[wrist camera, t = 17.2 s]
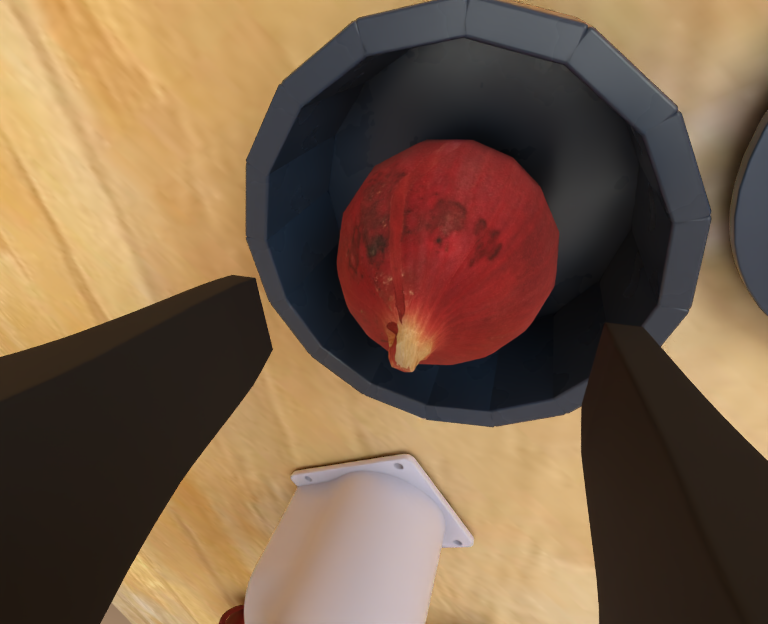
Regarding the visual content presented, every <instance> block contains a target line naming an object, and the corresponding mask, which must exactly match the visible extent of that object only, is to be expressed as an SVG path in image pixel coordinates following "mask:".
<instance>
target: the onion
mask: <svg viewBox="0 0 768 624" xmlns="http://www.w3.org/2000/svg"><path fill="white" fill-rule="evenodd" d="M558 245H559V230H558V228H557V226H556V223H555V221H554V218H553V216H552V214H551V211H550V209H549V206H548V204H547V202H546V199H545V197H544V194H543V192H542V189H541V187H540V186H539V184H538V183H537V182H536V181H535V180H534V179H533V178H532V177H531V176H530V175H529V174H528V173H527V172H526V171H525V169H524V168H523V167H522V166H521V165H520V164H519V163H518V162H517V161H516V160H515V159H514V158H513V157H511V156H509V155H506V154H504V153H502V152H499V151H497V150H495V149H493V148H490V147H488V146H486V145H484V144H481V143H479V142H477V141H474V140H439V139H427V140H425V141H422V142H420V143H417V144H415V145H413V146H411V147H409V148H408V149H406V150H404V151H402V152H400V153H398V154H396V155H394V156H392V157H391V158H389V159H387V160H385V161H383V162H381V163H379V164H377V165H375V166H374V168H373V169H372V171H371V172H370V173H369V175H368V176H367V178H366V179H365V181H364V182H363V184H362V185H361V187H360V188H359V190H358V191H357V193H356V194H355V196H354V197H353V199H352V200H351V202H350V203H349V205H348V206H347V208H346V210H345V211H344V213H343V217H342V224H341V231H340V239H339V247H338V255H337V271H338V276H339V280H340V284H341V287H342V291H343V294H344V298H345V302H346V305H347V307H348V309H349V311H350V313H351V314H352V315H353V317H354V318H355V319H356V321H357V322H358V323H359V325H360V326H361V327H362V329H363V330H364V331H365V333H366V334H367V335H368V336H369V337H370V338H371V339H372V340H374V341H375V342H376V343H378V344H379V345H380V346H382V347H383V348H384V349H386V350H387V351H388V358H389V361H390V364H391V367H393V368H396V369H398V370H400V371H402V372H413V371H414V370H415V368H416V366H417V365H418V364H432V365H454V364H458V363H463V362H467V361H472V360H476V359H480V358H484V357H486V356H488V355H490V354H492V353H494V352H496V351H497V350H498V349H500V348H501V347H503V346H504V345H506V344H507V343H509V342H510V341H511V340H513V339H514V338H516V337H517V336H519V335H520V334H522V333H523V332H524V331H525V330H526V329H527V328H528V327H529V326H530V324H531V323H532V322H533V320H534V319H535V317H536V316H537V314H538V312H539V311H540V309H541V307H542V306H543V304H544V303H545V301H546V299H547V298H548V296H549V294H550V293H551V291H552V289H553V288H554V285H555V279H556V273H557V259H558Z"/></svg>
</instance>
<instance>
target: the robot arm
mask: <svg viewBox="0 0 768 624" xmlns="http://www.w3.org/2000/svg"><path fill="white" fill-rule="evenodd" d="M272 350H273V348H272V344H271V340H270V336H269V332H268V328H267V324H266V319H265V315H264V311H263V307H262V303H261V299H260V295H259V291H258V287H257V282H256V278H252V277H244V276H236V275H231V276H227V277H224V278H220V279H217V280H214V281H211V282H208V283H206V284H203V285H200V286H198V287H195V288H192V289H190V290H187V291H185V292H182V293H180V294H177V295H175V296H172V297H170V298H167V299H165V300H162V301H160V302H157V303H155V304H152V305H150V306H147V307H145V308H142V309H140V310H137V311H135V312H132V313H130V314H127V315H125V316H122V317H119V318H116V319H114V320H111V321H108V322H106V323H103V324H100V325H98V326H95V327H92V328H90V329H87V330H84V331H82V332H79V333H76V334H73V335H70V336H68V337H65V338H62V339H59V340H56V341H53V342H49V343H46V344H43V345H40V346H37V347H33V348H30V349H27V350H23V351H20V352H17V353H14V354H10V355H6V356H3V357H0V624H100V623H101V621H102V619H103V617H104V615H105V613H106V612H107V610H108V608H109V606H110V604H111V602H112V600H113V598H114V596H115V594H116V593H117V591H118V589H119V587H120V585H121V583H122V581H123V579H124V577H125V575H126V574H127V572H128V570H129V568H130V566H131V564H132V563H133V561H134V559H135V558H136V556H137V554H138V552H139V551H140V549H141V547H142V545H143V544H144V542H145V540H146V538H147V537H148V535H149V533H150V531H151V530H152V528H153V526H154V524H155V523H156V521H157V520H158V518H159V516H160V515H161V513H162V511H163V510H164V508H165V507H166V505H167V503H168V502H169V500H170V498H171V497H172V495H173V494H174V492H175V490H176V489H177V487H178V486H179V484H180V482H181V481H182V480H183V478H184V477H185V475H186V474H187V472H188V471H189V470H190V468H191V467H192V465H193V464H194V463H195V461H196V460H197V459H198V457H199V456H200V455H201V454H202V452H203V451H204V450H205V448H206V447H207V446H208V444H209V443H210V442H211V440H212V439H213V438H214V437H215V435H216V434H217V433H218V431H219V430H220V429H221V427H222V426H223V425H224V424H225V422H226V421H227V420H228V418H229V417H230V416H231V414H232V413H233V412H234V410H235V409H236V408H237V406H238V405H239V404H240V402H241V401H242V400H243V398H244V397H245V396H246V394H247V393H248V392H249V390H250V389H251V387H252V386H253V385H254V383H255V381H256V379H257V378H258V376H259V374H260V373H261V371H262V369H263V367H264V365H265V363H266V361H267V360H268V358H269V356H270V354H271V352H272ZM581 455H582V464H583V473H584V481H585V489H586V497H587V505H588V513H589V521H590V529H591V537H592V545H593V553H594V561H595V569H596V578H597V590H598V602H599V624H768V460H766V459H765V458H764V457H763V456H762V455H761V454H760V453H759V452H758V451H757V450H756V449H755V448H754V447H753V446H752V445H751V444H750V443H749V442H748V441H747V440H746V439H745V438H744V437H743V436H742V435H741V434H740V433H739V432H738V431H737V430H736V429H735V428H734V427H733V426H732V425H731V424H730V423H729V422H728V421H727V420H726V419H725V418H724V417H723V416H722V415H721V414H720V413H719V412H718V410H717V409H716V408H715V407H714V406H713V405H712V404H711V403H710V402H709V401H708V400H707V399H706V398H705V397H704V395H703V394H702V393H701V392H700V391H699V390H698V389H697V388H696V387H695V386H694V384H693V383H692V382H691V381H690V380H689V379H688V378H687V377H686V375H685V374H684V373H683V372H682V371H681V370H680V369H679V367H678V366H677V365H676V364H675V363H674V362H673V361H672V359H671V358H670V357H669V356H668V355H667V354H666V353H665V351H664V350H663V349H662V348H661V347H660V346H659V344H658V343H657V342H656V341H655V340H654V339H653V337H652V336H651V335H650V334H649V333H648V332H647V331H646V330H645V329H644V328H643V327H639V326H631V325H623V324H615V323H607V322H605V324H604V327H603V331H602V334H601V338H600V341H599V345H598V348H597V352H596V355H595V359H594V362H593V366H592V369H591V373H590V376H589V380H588V383H587V387H586V390H585V394H584V397H583V401H582V412H581ZM291 480H292V481H293V482H294V483H295V484H296V486H297V489H296V491H295V493H294V495H293V497H292V498H291V500H290V502H289V504H288V506H287V508H286V510H285V512H284V513H283V515H282V517H281V519H280V521H279V523H278V525H277V526H276V528H275V530H274V532H273V534H272V536H271V538H270V540H269V541H268V543H267V545H266V547H265V549H264V551H263V553H262V554H261V556H260V558H259V560H258V562H257V564H256V566H255V568H254V570H253V572H252V574H251V577H250V580H249V583H248V586H247V590H246V595H245V603H244V622H245V624H425V623H426V618H427V614H428V609H429V604H430V599H431V595H432V590H433V585H434V580H435V576H436V571H437V566H438V561H439V557H440V552H441V548H447V547H471V546H473V543H474V537H473V536H472V534H471V533H470V532H469V530H468V529H467V528H466V526H465V525H464V524H463V522H462V521H461V520H460V518H459V517H458V516H457V514H456V513H455V512H454V510H453V509H452V508H451V506H450V505H449V504H448V502H447V501H446V499H445V498H444V497H443V495H442V494H441V493H440V491H439V490H438V489H437V487H436V486H435V485H434V483H433V482H432V481H431V479H430V478H429V477H428V475H427V474H426V473H425V471H424V470H423V469H422V467H421V466H420V464H419V463H418V462H417V460H416V459H415V458H414V457H413V456H411V455H409V454H400V455H393V456H387V457H380V458H374V459H368V460H361V461H355V462H348V463H342V464H336V465H329V466H323V467H316V468H310V469H304V470H297V471H294V472H293V473H292V475H291Z"/></svg>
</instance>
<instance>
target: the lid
mask: <svg viewBox="0 0 768 624" xmlns="http://www.w3.org/2000/svg"><path fill="white" fill-rule="evenodd" d="M729 227H730V243H731V248H732V253H733V258H734V262H735V265H736V267H737V270H738V272H739V275H740V277H741V280H742V282H743V284H744V285H745V287H746V288H747V290H748V291H749V293H750V294H751V296H752V297H753V299H754V300H755V302H756V303H757V305H758V306H759V308H760V309H761V310H762V311H763V312H764V313H765V314H766V315H767V316H768V110H767V111H766V113H765V114H764V116H763V118H762V119H761V121H760V122H759V124H758V126H757V128H756V130H755V133H754V135H753V137H752V139H751V141H750V143H749V145H748V147H747V149H746V151H745V154H744V156H743V159H742V162H741V165H740V168H739V171H738V174H737V177H736V180H735V184H734V188H733V194H732V200H731V206H730V212H729Z"/></svg>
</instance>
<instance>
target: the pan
mask: <svg viewBox="0 0 768 624" xmlns="http://www.w3.org/2000/svg"><path fill="white" fill-rule="evenodd" d="M427 139H439V140H474V141H477V142H479V143H481V144H484V145H486V146H488V147H490V148H493V149H495V150H497V151H499V152H502V153H504V154H506V155H509V156H511V157H513V158H514V159H515V160H516V161H517V162H518V163H519V164H520V165H521V166H522V167H523V168H524V169H525V171H526V172H527V173H528V174H529V175H530V176H531V177H532V178H533V179H534V180H535V181H536V182H537V183H538V184H539V186H540V187H541V189H542V192H543V194H544V197H545V199H546V202H547V204H548V206H549V209H550V211H551V214H552V216H553V218H554V221H555V223H556V226H557V228H558V230H559V245H558V259H557V273H556V279H555V285H554V288H553V289H552V291H551V293H550V294H549V296H548V298H547V299H546V301H545V303H544V304H543V306H542V307H541V309H540V311H539V312H538V314H537V316H536V317H535V319H534V320H533V322H532V323H531V324H530V326H529V327H528V328H527V329H526V330H525V331H524V332H523V333H522V334H520V335H519V336H517V337H516V338H514V339H513V340H511V341H510V342H509V343H507V344H506V345H504V346H503V347H501V348H500V349H498V350H497V351H496V352H494V353H492V354H490V355H488V356H486V357H484V358H480V359H476V360H472V361H467V362H463V363H458V364H454V365H432V364H418V365H417V366H416V368H415V370H414V371H413V372H402V371H400V370H398V369H396V368H393V367H391V364H390V361H389V358H388V351H387V350H386V349H384V348H383V347H382V346H380V345H379V344H378V343H376V342H375V341H374V340H372V339H371V338H370V337H369V336H368V335H367V334H366V333H365V331H364V330H363V329H362V327H361V326H360V325H359V323H358V322H357V321H356V319H355V318H354V317H353V315H352V314H351V313H350V311H349V309H348V307H347V305H346V302H345V298H344V294H343V291H342V287H341V284H340V280H339V276H338V271H337V255H338V247H339V239H340V231H341V224H342V217H343V213H344V211H345V210H346V208H347V206H348V205H349V203H350V202H351V200H352V199H353V197H354V196H355V194H356V193H357V191H358V190H359V188H360V187H361V185H362V184H363V182H364V181H365V179H366V178H367V176H368V175H369V173H370V172H371V171H372V169H373V168H374V166H375V165H377V164H379V163H381V162H383V161H385V160H387V159H389V158H391V157H392V156H394V155H396V154H398V153H400V152H402V151H404V150H406V149H408V148H409V147H411V146H413V145H415V144H417V143H420V142H422V141H425V140H427ZM246 162H247V163H246V236H247V237H246V240H247V243H248V246H249V248H250V251H251V254H252V257H253V259H254V262H255V265H256V267H257V270H258V273H259V276H260V278H261V281H262V284H263V287H264V289H265V292H266V295H267V297H268V300H269V302H271V305H272V306H273V308H274V309H275V310H276V312H277V313H278V314H279V315H280V317H281V318H282V319H283V321H284V322H285V323H286V324H287V326H288V327H289V328H290V330H291V331H292V332H293V334H294V335H295V336H296V337H297V339H298V340H299V341H300V343H301V344H302V345H303V346H304V348H305V349H306V350H307V352H308V353H309V354H310V355H311V356H312V357H313V358H314V359H316V360H317V361H318V362H320V363H321V364H322V365H324V366H325V367H326V368H328V369H329V370H330V371H332V372H333V373H334V374H336V375H337V376H339V377H340V378H341V379H343V380H344V381H345V382H347V383H348V384H349V385H351V386H352V387H353V388H355V389H356V390H357V391H359V392H360V393H362V394H364V395H365V396H368V397H371V398H373V399H376V400H378V401H381V402H383V403H386V404H388V405H391V406H393V407H396V408H398V409H401V410H403V411H406V412H409V413H411V414H414V415H416V416H419V417H421V418H426V420H434V421H443V422H451V423H460V424H469V425H478V426H487V427H494V426H503V425H508V424H514V423H520V422H526V421H532V420H537V419H543V418H549V417H555V416H560V415H564V414H566V413H570V412H572V411H574V410H576V409H577V408H579V407H581V406H582V401H583V397H584V394H585V390H586V387H587V383H588V380H589V376H590V373H591V369H592V366H593V362H594V359H595V355H596V352H597V348H598V345H599V341H600V338H601V334H602V331H603V327H604V324H605V322H607V323H615V324H623V325H631V326H639V327H643V328H644V329H645V330H646V331H647V332H648V333H649V334H650V335H651V336H652V337H653V339H654V340H655V341H656V342H657V343H658V344H659V346H660V347H661V346H662V344H663V343H664V342H665V341H666V339H667V338H668V337H669V336H670V335H671V333H672V332H673V331H674V330H675V329H676V327H677V326H678V325H679V324H680V322H681V321H682V320H683V319H684V318H685V316H686V315H687V314H688V312H689V309H690V308H691V306H692V302H693V298H694V293H695V289H696V285H697V280H698V276H699V271H700V267H701V263H702V258H703V254H704V249H705V245H706V240H707V236H708V232H709V227H710V223H711V216H710V214H711V209H710V205H709V202H708V199H707V195H706V192H705V189H704V185H703V182H702V179H701V175H700V172H699V169H698V166H697V162H696V159H695V156H694V152H693V149H692V146H691V142H690V139H689V136H688V132H687V129H686V126H685V123H684V119H683V116H682V113H681V112H680V111H679V110H678V107H677V105H676V104H675V103H674V102H673V101H672V100H671V99H669V98H668V97H667V96H666V95H665V94H664V93H663V92H662V91H661V90H660V89H659V88H658V87H657V86H656V85H655V84H654V83H653V82H651V81H650V80H649V79H648V78H647V77H646V76H645V75H644V74H643V73H642V72H641V71H640V70H639V69H638V68H637V67H636V66H634V65H633V64H632V63H631V62H630V61H629V60H628V59H627V58H626V57H625V56H624V55H623V54H622V53H621V52H620V51H619V50H617V49H616V48H615V47H614V46H613V45H612V44H611V43H610V42H609V41H608V40H607V39H606V38H605V37H604V36H603V35H602V34H600V33H599V32H598V31H597V30H596V29H595V28H594V27H593V26H591V25H589V24H588V23H586V22H584V21H583V20H580V19H579V18H577V17H574V16H570V15H566V14H562V13H558V12H555V11H551V10H547V9H543V8H539V7H536V6H532V5H528V4H524V3H520V2H516V1H512V0H432V1H428V2H424V3H419V4H415V5H411V6H407V7H402V8H398V9H394V10H389V11H385V12H381V13H376V14H372V15H368V16H364V17H359V18H358V19H356V20H355V21H352V22H351V23H350V24H349V25H348V26H346V27H345V28H344V29H343V30H342V31H340V32H339V33H338V34H337V35H336V36H335V37H333V38H332V39H331V40H330V41H329V42H328V43H326V44H325V45H324V46H323V47H322V48H320V49H319V50H318V51H317V52H316V53H315V54H313V55H312V56H311V57H310V58H309V59H308V60H306V61H305V62H304V63H303V64H302V65H300V66H299V67H298V68H297V69H296V70H295V71H293V72H292V73H291V74H290V75H289V76H288V77H286V78H285V79H284V80H283V81H282V83H281V84H279V86H278V88H277V90H276V93H275V95H274V97H273V99H272V102H271V104H270V106H269V109H268V111H267V113H266V115H265V118H264V120H263V122H262V125H261V127H260V129H259V131H258V134H257V136H256V138H255V141H254V143H253V145H252V148H251V150H250V152H249V154H248V157H247V159H246Z"/></svg>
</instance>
